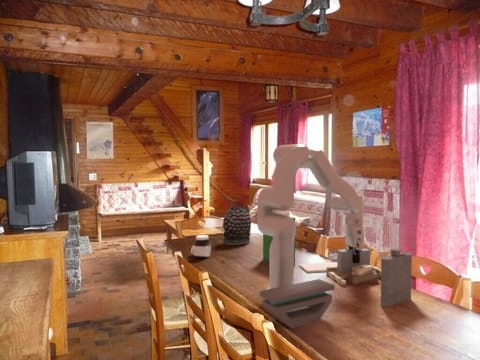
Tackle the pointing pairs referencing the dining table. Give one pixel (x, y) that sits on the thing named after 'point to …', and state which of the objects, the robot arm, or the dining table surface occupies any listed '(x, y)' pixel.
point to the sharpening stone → (298, 302)
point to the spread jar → (201, 247)
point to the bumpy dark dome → (237, 225)
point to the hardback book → (266, 246)
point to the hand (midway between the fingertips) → (353, 261)
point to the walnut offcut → (362, 278)
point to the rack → (345, 274)
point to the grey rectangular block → (351, 260)
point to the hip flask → (395, 278)
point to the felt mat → (317, 267)
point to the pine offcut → (362, 270)
